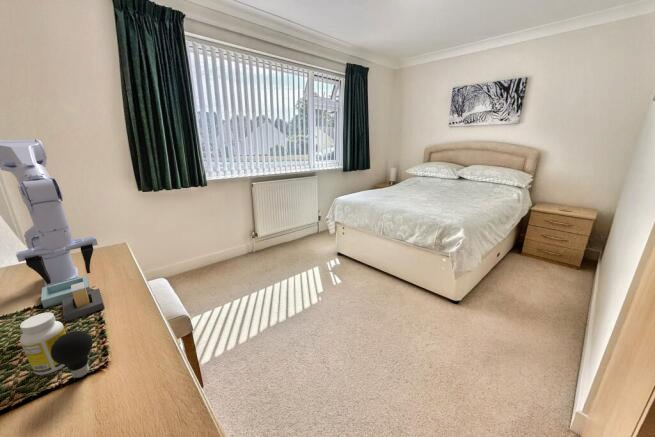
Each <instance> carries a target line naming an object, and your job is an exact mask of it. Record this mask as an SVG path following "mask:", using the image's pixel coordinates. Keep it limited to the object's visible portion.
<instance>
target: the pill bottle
mask: <svg viewBox="0 0 655 437" xmlns="http://www.w3.org/2000/svg"><path fill="white" fill-rule="evenodd" d="M19 328H20V331H21V332H22V335H21V336H20V339H19V343H20V345H21V347H22V349H23V351H24V354H25V356H26V359H27V360H28V363H29V366H30V368H31V369H32V372H33V373H34V374H35V375H38V376H39V375H40V376H43V375H48V374H52V373H53V372H54V373H55V372H58V371H59V370H60V369H63V368H64V367H66V366H65V365H63V364H59V363H57V362H55V361H54V360H53V359H52V357H51V348H52V345H53V344H54V342H55V341H56V340H57V339H58V338H59V337H60V336H62V335H64V334H66V333H67V332H66V329H65V326H64V324H63V323H62V322H60V321H58V320H56V317H55V315H54V313H53V312H42V313H39V314H36V315H33V316H31V317H28V318H26V319H25V320H24V321H22V322H21V323H20V325H19Z"/></svg>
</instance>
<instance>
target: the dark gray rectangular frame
mask: <svg viewBox="0 0 655 437" xmlns="http://www.w3.org/2000/svg"><path fill="white" fill-rule="evenodd" d="M87 295H88V298H89V301H91V300H92V302H90V304H87V305H84V306H81V307H78V308H77V307H75V306H76V303H75V300H74V297H73V296H72V297H68V298H65V299H62V303H61V305H62V317H63V320H64V322H69V321H72V320H75V319H78V318H81V317H83V316H86V315H90V314H92V313H96V312H98V311H100V310H104V309H105V304H104V302H103V297H102V294H101V291H100V288H96V289H93V290H92V289H91V290H90V291H88V292H87Z"/></svg>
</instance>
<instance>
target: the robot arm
mask: <svg viewBox="0 0 655 437" xmlns="http://www.w3.org/2000/svg"><path fill="white" fill-rule="evenodd" d="M43 144H44V143H43V142H42V141H41V140H40V139H37V138H35V139H8V140H7V139H5V140H4V139H0V170H1V171H3V172H4V171H5V172H10V173H12V175H13V176H14V177H15V178H16V181H17V183H18V184H17V188H18V191H19V194H20V197H21V199H22V203H24V205H25V206H26V209H27V211H28V213H29V216H30V219H31V221H32V224H33V225H32V226H31V227H30V228H28V229H27V230H26V231H24V236H23V237H24V240H25V244H26V246H27V249H25V250H24V249H23V250H20V251H16V253H15V256H16V259H17V261H18V262H19V263H21V262H25V264H26V266H27V267H28V268H30V269H31V270H33V271H34V272H36V273H37V274H38V275H39V276H40V277H41V278H42V279H43V280H44V287H46V286H50V285H53V284H57V283H61V282H64V281H68V280H72V279H75V278H79V277H80V275H79V271H78V267H77V266H75V264H74V261H73V258H72V255H71V253H70V252H71V251H72V250H76V249H80V253H81V255H82V258H83V262H84V265H85V266H84V267H85V271H86V274H90V273H91V262H92V260H91V259H92V256H93V253H94V246H99V243H98V240H97V238H96V236H90V237H83V238H73V234H72V231H71V229H70V226H69V223H68V218H67V216H66V212H65V208H64V207H63V203H62V202H63V201H64V200H63V198H64V197H63V192H62V190H61V186H60V184H59V183H58V180H56V178H55V177H53V176H50V174H49V172H48V170H47V168H46V165H47V159H48V157H47V153H46V150H45V147H44V145H43Z"/></svg>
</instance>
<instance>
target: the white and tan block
mask: <svg viewBox="0 0 655 437" xmlns="http://www.w3.org/2000/svg"><path fill="white" fill-rule="evenodd" d="M71 291H72V294H73V297H74V300H75V303H76V305H75V307H76V308H78V307H81V306H84V305H87V304H90V303H91V302H90V301H91V300H89V298H88V295H87V291H86V288H85V285H84V282H81V283H77V284H73V285H71Z"/></svg>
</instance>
